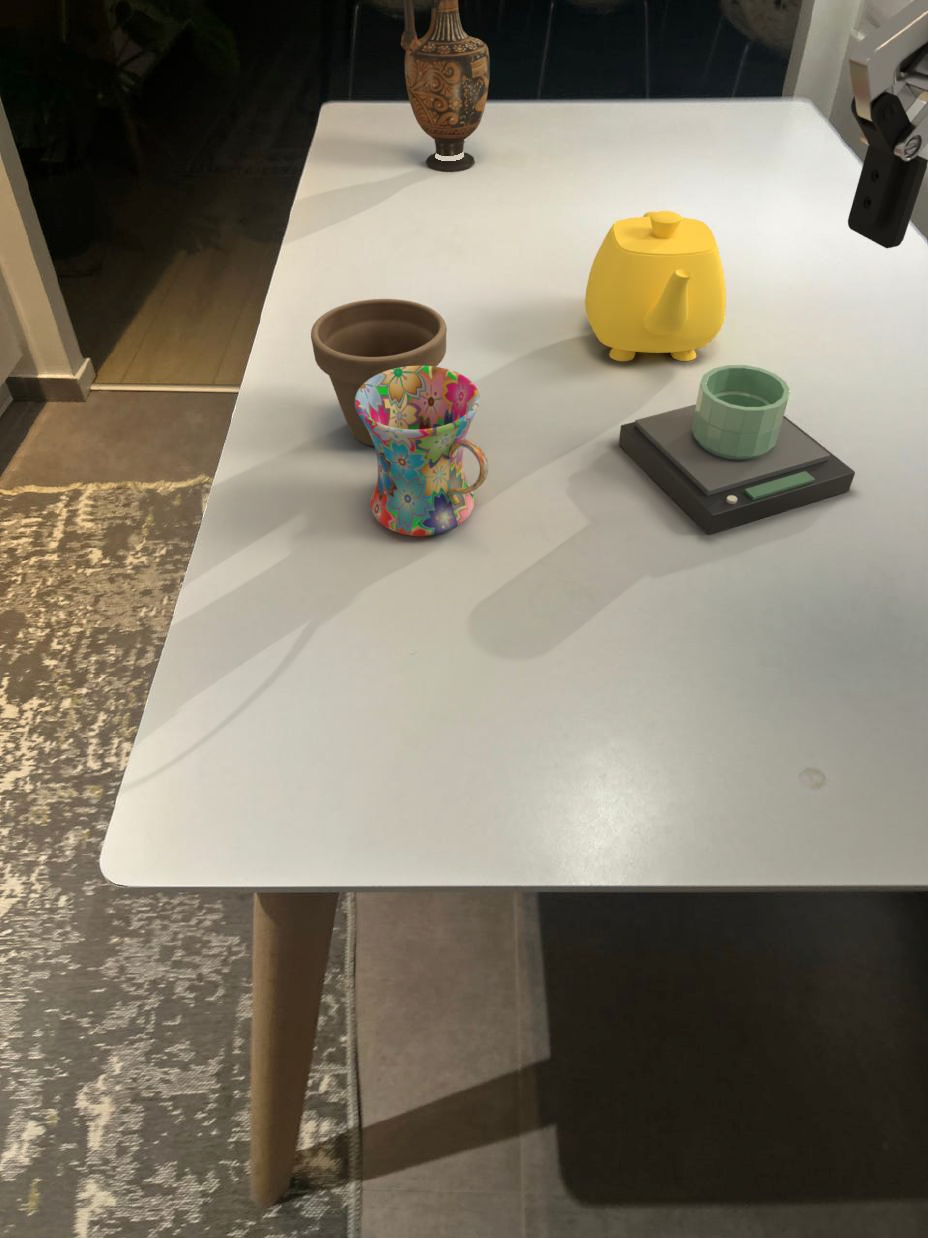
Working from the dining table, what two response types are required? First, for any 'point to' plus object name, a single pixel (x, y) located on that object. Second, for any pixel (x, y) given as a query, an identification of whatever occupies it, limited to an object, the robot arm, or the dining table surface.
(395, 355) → the flower pot
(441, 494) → the mug
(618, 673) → the dining table surface
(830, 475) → the scale
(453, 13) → the vase
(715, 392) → the bowl
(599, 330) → the teapot
